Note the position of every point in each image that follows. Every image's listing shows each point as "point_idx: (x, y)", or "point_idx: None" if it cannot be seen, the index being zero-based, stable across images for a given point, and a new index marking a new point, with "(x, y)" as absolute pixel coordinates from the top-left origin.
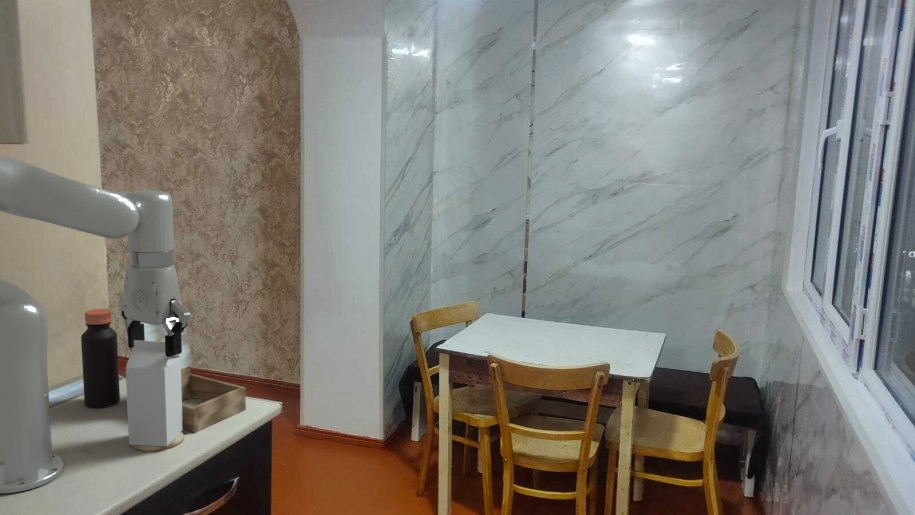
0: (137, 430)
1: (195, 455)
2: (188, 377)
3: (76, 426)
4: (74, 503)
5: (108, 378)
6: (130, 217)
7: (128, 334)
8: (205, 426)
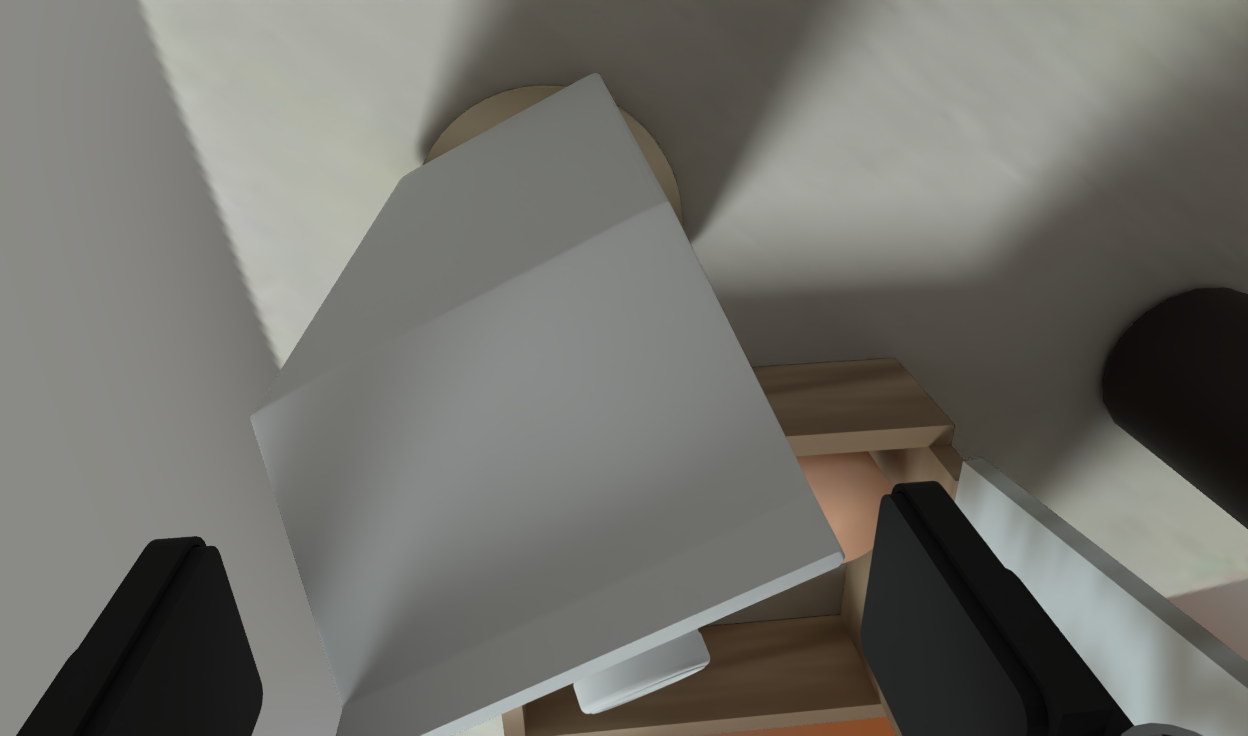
0: (548, 112)
1: (228, 218)
2: (878, 686)
3: (1090, 95)
4: None
5: (1226, 432)
6: None
7: (1017, 607)
8: None
